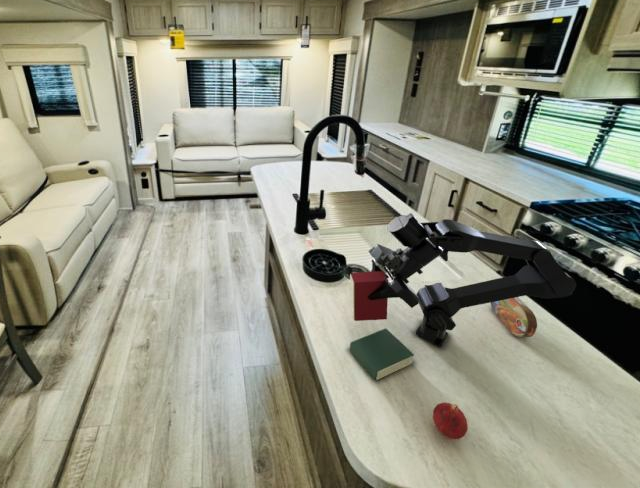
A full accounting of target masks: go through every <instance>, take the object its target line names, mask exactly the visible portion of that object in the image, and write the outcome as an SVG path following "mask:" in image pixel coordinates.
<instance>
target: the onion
mask: <svg viewBox="0 0 640 488" xmlns="http://www.w3.org/2000/svg"><path fill="white" fill-rule="evenodd" d="M432 420H433V423H434V426H435V427H436V428H437V430H438V432H440V434H442V436H444V437H446V438H447V439H450V440H461V439H462V438H464V437H465V436H466V435H467V432H468V429H469V428H468V427H469V426H468V419H467V418H466V415H465V413H464V412H463V410H461V409H460V408H459V406H458V405H457V404H456V403H450V402H440V403H437V404H436V406H435V407H434V408H433V410H432Z"/></svg>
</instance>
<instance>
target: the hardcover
mask: <svg viewBox="0 0 640 488" xmlns="http://www.w3.org/2000/svg"><path fill="white" fill-rule="evenodd" d="M349 352H350V353H351V355H353V357H354V358H355V359H356V361H358V363H359V364H360V365H361V367H363V368H364V370H365V371H366V372H367V373H368V375H370V377H371V378H372V379H373V380H374V381H379V380H380V379H382V378H384V377H387V376H388V375H390V374H393V373H394V372H397V371H399V370H401V369H403V368H405V367H408V366H410V365H412V363H413V359H414V356H415V354H414V353H413V352H412V350H410V349H409V348H408V347H407V346H406V345H404V344H403V343H402V342H401V341H400V340H399V339H398V338H397V337H396V336H395V335H394V334H393V333H392V332H391V331H389V329H387V328H386V327H385V328H383V329H381V330H378V331H375V332H373V333H371V334H368V335H365V336H363V337H361V338H358V339H356V340H353V341H350V346H349Z"/></svg>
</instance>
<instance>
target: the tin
mask: <svg viewBox="0 0 640 488" xmlns="http://www.w3.org/2000/svg"><path fill="white" fill-rule="evenodd" d="M490 308H491V309H492V312H493V313H494V314H495V316H496V317H497V318H498V320H500V321H501V322H502V324H503V325H504V326H505V328H506V329H507V331H509V332H510V334H512V335H513V336H514V337H518V338H519V337H522V338H531V337H533V336H534V335H535V333H536V331H537V329H538V321H537V320H538V319H537V317H536V316H535V313H534V311H533V310H532V309H531V308H530V307H529V306H528V305H527V304H526V303H525V302H523V300H522V299H521V298H519V297H515V298H510V299H505V300H500V301H495V302H490Z"/></svg>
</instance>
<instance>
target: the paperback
mask: <svg viewBox="0 0 640 488" xmlns="http://www.w3.org/2000/svg"><path fill="white" fill-rule="evenodd" d="M384 278H385V279H386V280H387V281H388V282H390V281H389V278H387V277H386V275H385V273H384V272H383V271H374V272H371V271H360V272H350V274H349V290H350V291H349V302H350V303H349V307H350V309H349V310H350V314H351V316H352V319H353V320H354V321H355V322H361V321H363V322H365V321H383V320H387V319H388V301H389V298H384V299H377V300H369V299H368V296H369V295H370V294H371V293H373V292H374V291H375V290H376V289H378V288H379V287H380V286H381V285H382V284H383V280H384Z"/></svg>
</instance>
